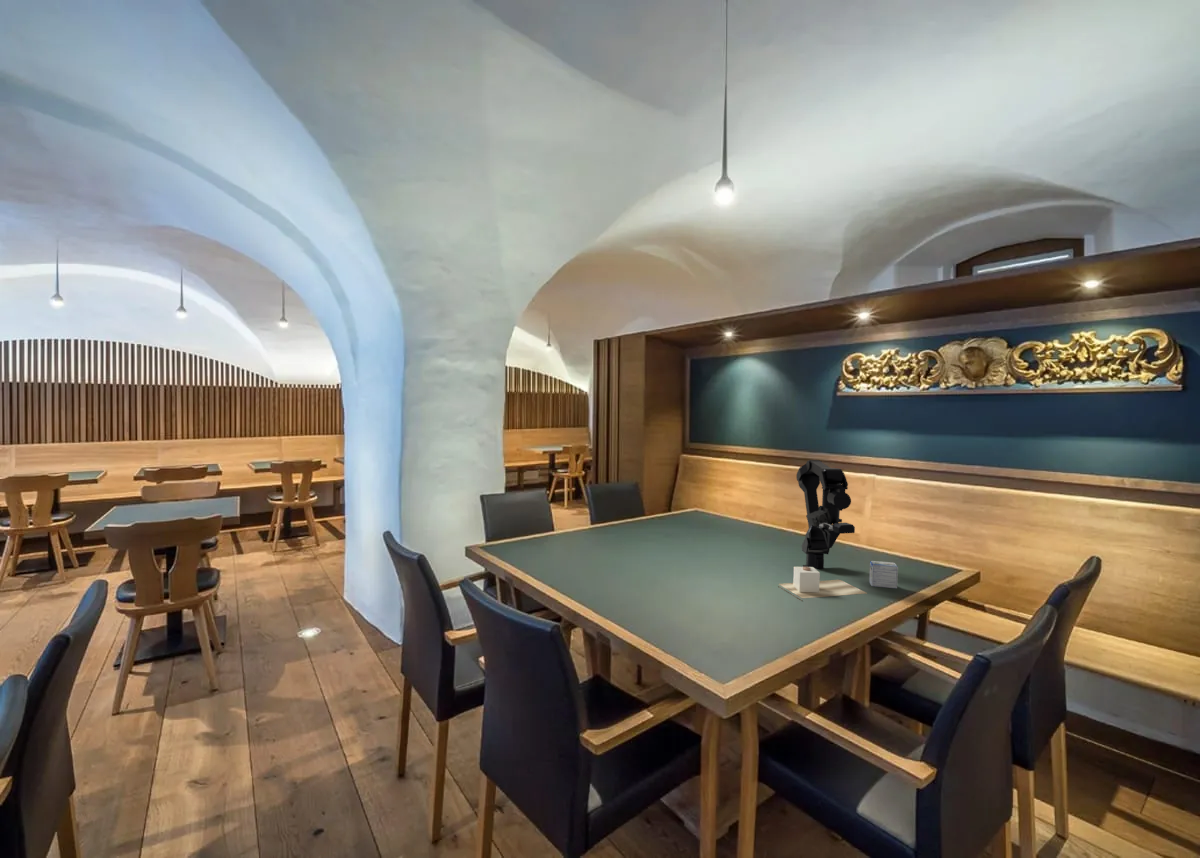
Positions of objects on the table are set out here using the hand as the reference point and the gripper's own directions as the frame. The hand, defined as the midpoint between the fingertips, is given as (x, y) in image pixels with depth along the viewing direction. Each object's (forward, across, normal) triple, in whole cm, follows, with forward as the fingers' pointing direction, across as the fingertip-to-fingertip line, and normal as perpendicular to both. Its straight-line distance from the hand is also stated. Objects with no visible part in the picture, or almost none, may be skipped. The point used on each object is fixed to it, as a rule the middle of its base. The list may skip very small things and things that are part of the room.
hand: (829, 547), depth 192 cm
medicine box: (+12, +10, +14) cm, 21 cm away
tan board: (+12, +9, -9) cm, 17 cm away
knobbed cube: (+11, +9, -15) cm, 20 cm away
